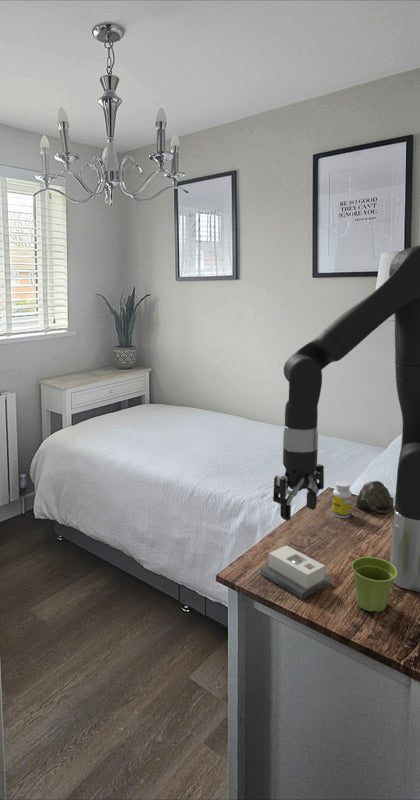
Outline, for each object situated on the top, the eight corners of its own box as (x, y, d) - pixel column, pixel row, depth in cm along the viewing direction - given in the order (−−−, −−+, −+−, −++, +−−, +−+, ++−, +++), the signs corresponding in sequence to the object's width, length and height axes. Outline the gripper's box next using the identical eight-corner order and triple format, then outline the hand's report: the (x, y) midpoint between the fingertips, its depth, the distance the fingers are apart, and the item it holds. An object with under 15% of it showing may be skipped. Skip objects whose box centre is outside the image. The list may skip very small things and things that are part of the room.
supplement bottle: (328, 511, 158) (330, 481, 156) (344, 509, 160) (346, 479, 158) (337, 519, 153) (339, 488, 151) (353, 517, 155) (356, 486, 152)
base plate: (331, 583, 121) (332, 565, 120) (301, 599, 115) (302, 581, 114) (289, 560, 131) (290, 544, 130) (260, 574, 125) (261, 557, 124)
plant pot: (402, 604, 113) (405, 568, 111) (380, 624, 107) (383, 586, 105) (363, 586, 120) (365, 552, 118) (340, 604, 113) (342, 568, 111)
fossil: (385, 517, 153) (371, 485, 154) (358, 523, 159) (345, 492, 160) (398, 504, 161) (385, 474, 162) (372, 510, 167) (360, 481, 168)
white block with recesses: (268, 566, 125) (268, 553, 125) (285, 558, 129) (286, 545, 128) (306, 588, 116) (307, 574, 115) (324, 579, 120) (325, 565, 119)
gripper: (308, 435, 122) (306, 500, 126) (265, 448, 114) (264, 517, 117) (334, 442, 117) (331, 510, 120) (291, 456, 108) (289, 528, 112)
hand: (298, 513), depth 119 cm, fingers open, 8 cm apart
